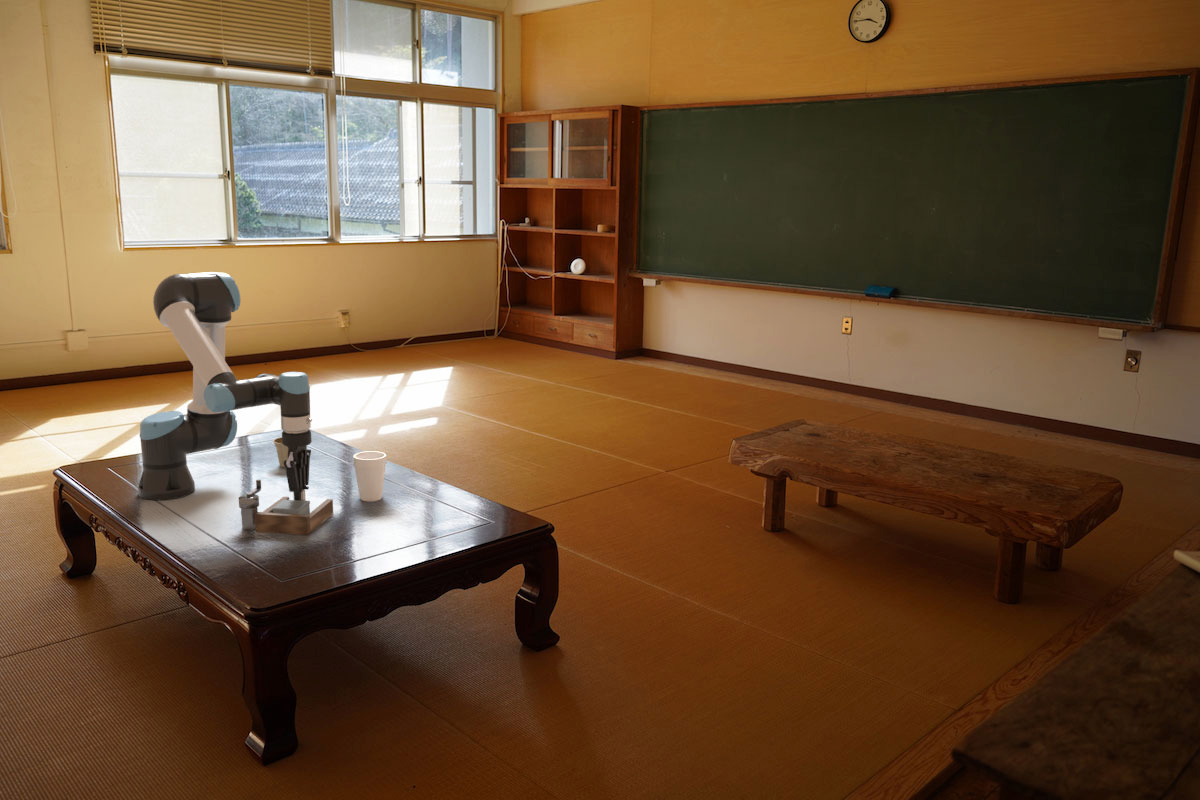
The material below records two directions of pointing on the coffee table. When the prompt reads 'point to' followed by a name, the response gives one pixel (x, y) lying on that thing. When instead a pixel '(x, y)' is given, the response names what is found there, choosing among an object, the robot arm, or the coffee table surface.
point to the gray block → (292, 507)
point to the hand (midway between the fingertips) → (300, 513)
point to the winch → (249, 507)
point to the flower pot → (281, 451)
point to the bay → (292, 519)
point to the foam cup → (370, 474)
